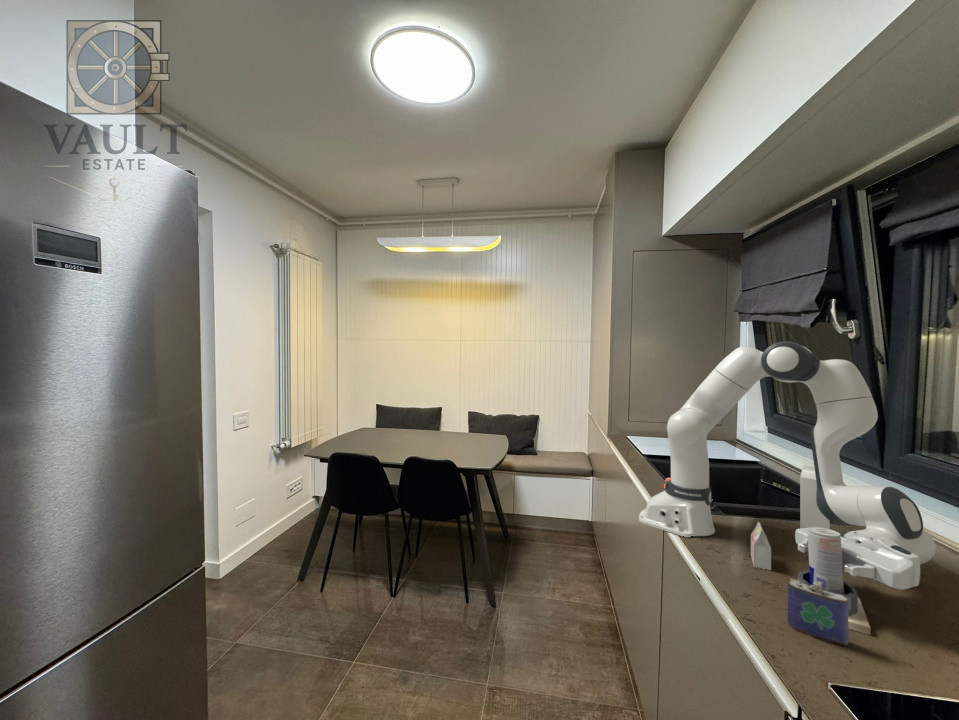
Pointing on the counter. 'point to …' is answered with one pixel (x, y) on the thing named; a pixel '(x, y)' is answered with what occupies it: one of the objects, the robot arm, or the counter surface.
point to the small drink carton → (760, 548)
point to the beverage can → (825, 559)
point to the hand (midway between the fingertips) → (823, 559)
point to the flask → (818, 612)
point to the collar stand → (855, 608)
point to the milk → (810, 501)
